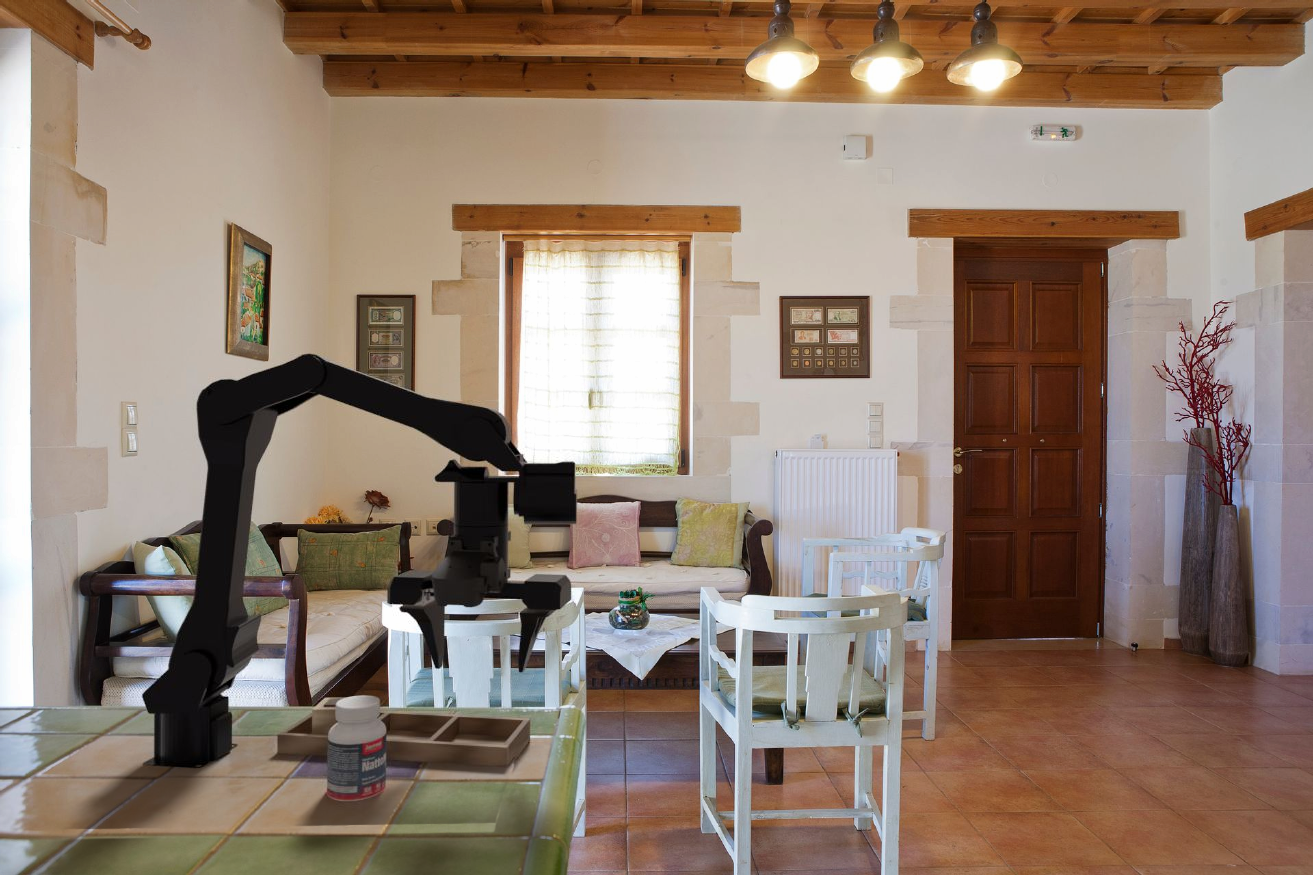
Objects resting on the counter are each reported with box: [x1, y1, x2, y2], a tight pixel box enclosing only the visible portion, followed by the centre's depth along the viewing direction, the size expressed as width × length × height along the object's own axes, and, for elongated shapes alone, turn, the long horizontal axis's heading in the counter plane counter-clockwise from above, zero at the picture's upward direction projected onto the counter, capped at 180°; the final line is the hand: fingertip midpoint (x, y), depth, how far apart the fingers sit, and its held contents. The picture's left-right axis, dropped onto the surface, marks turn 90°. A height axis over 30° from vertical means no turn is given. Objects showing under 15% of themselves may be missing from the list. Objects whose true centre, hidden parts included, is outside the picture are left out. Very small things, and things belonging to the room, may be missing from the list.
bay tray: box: [276, 710, 531, 768], centre depth 91 cm, size 25×9×2 cm, turn 83°
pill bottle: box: [326, 694, 387, 802], centre depth 80 cm, size 5×5×9 cm
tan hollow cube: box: [311, 697, 345, 735], centre depth 92 cm, size 4×4×4 cm
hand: (480, 669), depth 90 cm, fingers open, 9 cm apart
